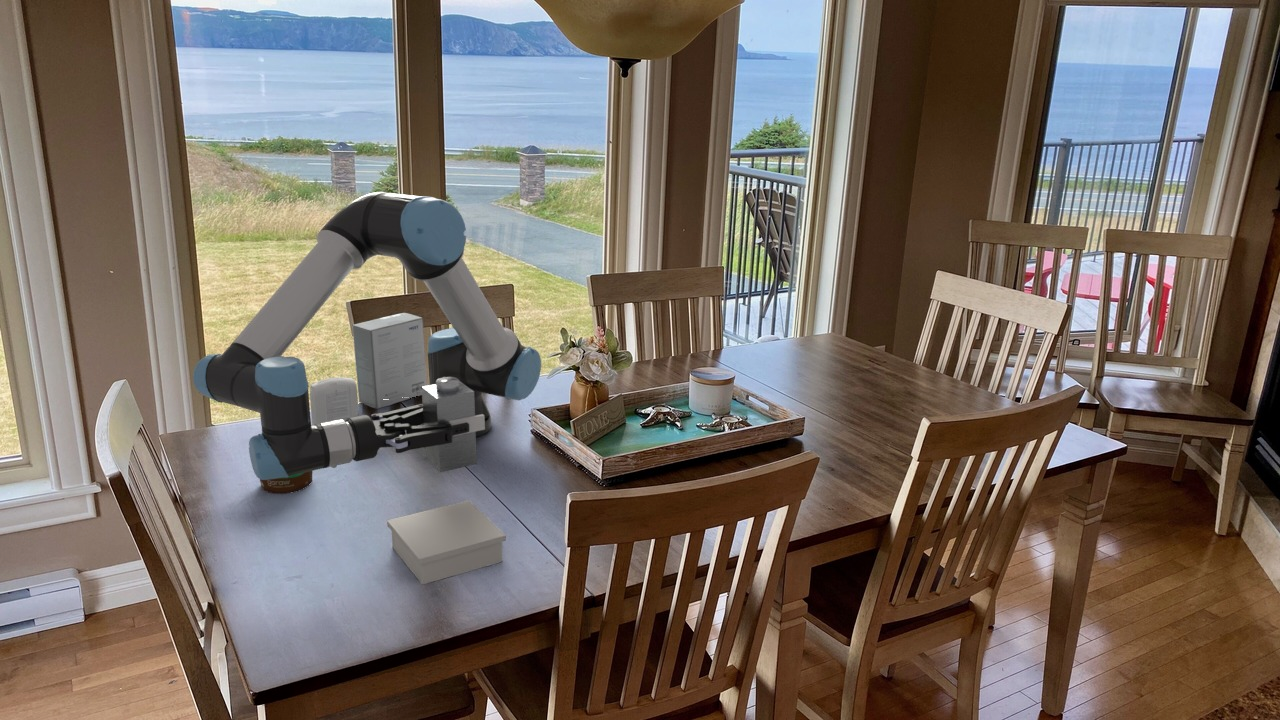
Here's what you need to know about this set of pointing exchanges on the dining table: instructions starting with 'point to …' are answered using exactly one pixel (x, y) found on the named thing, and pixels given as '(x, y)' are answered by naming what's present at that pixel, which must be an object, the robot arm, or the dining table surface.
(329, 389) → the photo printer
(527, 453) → the dining table surface
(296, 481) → the food container
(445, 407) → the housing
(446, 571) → the plinth
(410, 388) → the hard drive box
